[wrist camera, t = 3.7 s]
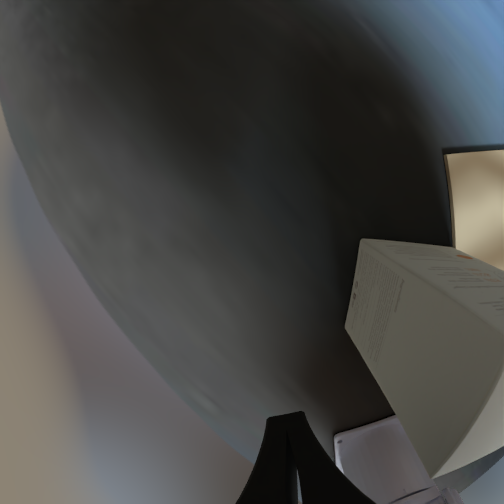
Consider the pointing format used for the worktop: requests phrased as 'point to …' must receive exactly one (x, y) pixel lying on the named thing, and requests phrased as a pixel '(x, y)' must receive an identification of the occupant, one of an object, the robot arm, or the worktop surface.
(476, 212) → the board
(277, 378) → the worktop surface
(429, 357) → the small box
